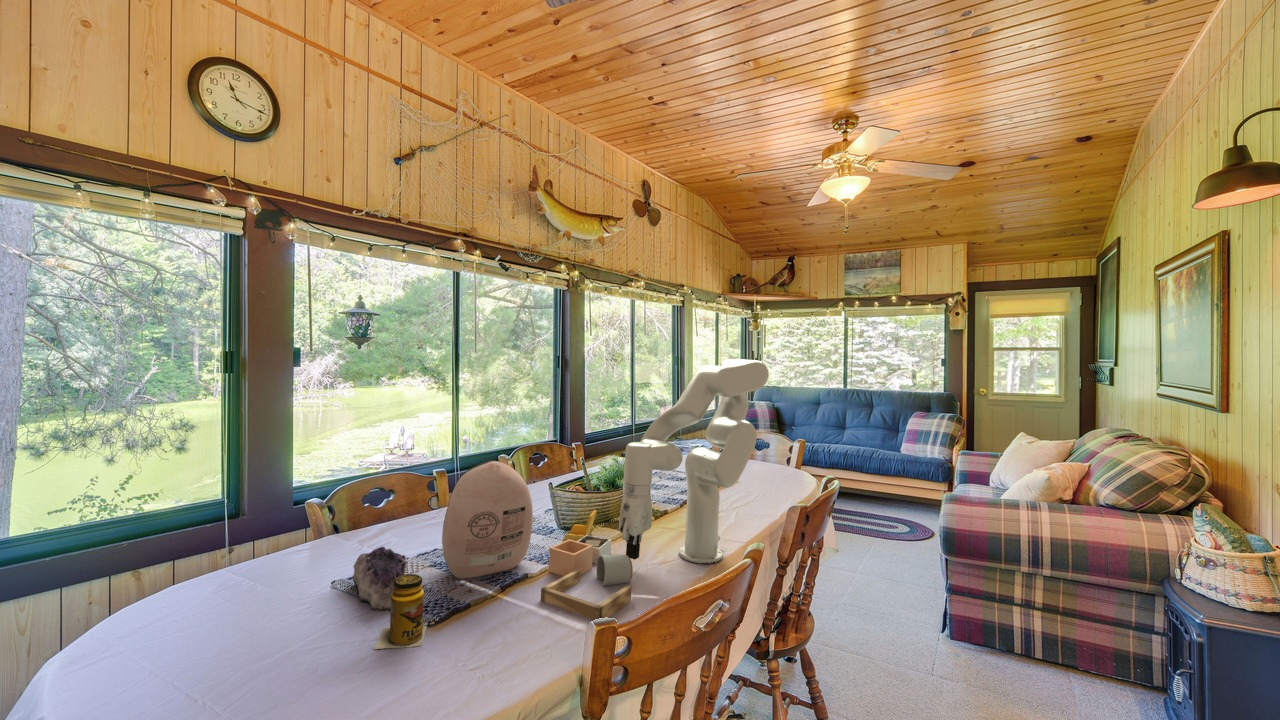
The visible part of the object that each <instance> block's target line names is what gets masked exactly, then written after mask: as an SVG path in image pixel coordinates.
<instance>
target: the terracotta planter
mask: <svg viewBox="0 0 1280 720" xmlns="http://www.w3.org/2000/svg"><path fill="white" fill-rule="evenodd" d="M592 554H593V546H592V545H588V544H585V543H581V542H577V541H574V540H570V539H568V540H566V541H564V542H562V541H561V542H560V543H557V544H555V545H553V546H551V547H549V556H548V557H549V559H548V560H549V561H548V573H551V574H555V575H557V576H561V577H564V576H565V575H567V574H569V573H571V572H573V571H575V570H579V571H580V577H581V576H583V575H584V574H586V573H588V572H589V571H591V570H593V563H592Z"/></svg>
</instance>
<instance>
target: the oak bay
mask: <svg viewBox="0 0 1280 720" xmlns="http://www.w3.org/2000/svg"><path fill="white" fill-rule="evenodd" d="M580 577H581V576H580V571H579V570H575V571H573V572H571V573H569V574H567V575H565V576H561V577H560V578H558V579H556V580H554V581H553V582H551V583H549V584H547V585H545V586H543V587H542V588H541V589H540V601H542V602H544V603H546V604H549V605H552V606H554V607H558V608H561V609H563V610H567V611H569V612H572V613H575V614H577V615H580V616H583V617H586V618H588V619H592V620H595V619H599V618H605V617H609V618H610V617H612V616H613V615H614V614H615V613H617V612H618V611H620V610H622V608H624V607H626V605H628V604H629V603H631V602H632V587H633V586H631V585H629V584H628V585H625V586H624V587H622V588H621V589H620V590H618V591H616V592H615V593H613V595H611V596H609V597H608V598H606V599H605V600H603V601H602V602H601V603H599V604H596V603H593V602H590V601H587V600H584V599H581V598H578V597H576V596H573V595H570V594H567V593H564V591H567V590H568V589H570V588H571V587H573V586H574V585H576V584H578V583H580V580H581V579H580Z"/></svg>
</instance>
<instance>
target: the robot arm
mask: <svg viewBox="0 0 1280 720" xmlns="http://www.w3.org/2000/svg"><path fill="white" fill-rule="evenodd" d="M769 376H770V375H769V369H768V367H767V365H766V364H765V363H764V362H762V361H760V360H755V359H740V358H739V359H737V358H730V359H725V360H723V361H722V362H721V363H720V365H709V364H708V365H707V364H706V365H703V366H700V367H698V368H697V370H696V371H695V372H694V374H693V376H692V377H691V379H690V380H689V382H688V384H687V385H686V387H685V388H684V390H683V391H682V393H681V395H680V397H679V398H678V400H677V401H676V403H675V404H674V405H673V406H672V407H670V408H669V409H667V410H666V411H665V412H663V413H662V414H661V415H660V416H658V417H657V418H656V419H655V420H654V421H653V422H652V423H651V424H650V425H649V426H648V428H647V430H646V431H645V433H644V434H643V436H642V437H641V439H640V441H634V442H633V441H632V442H629V443H627V444H626V447H625V452H624V453H625V455H624V456H625V458H624V467H623V468H624V469H623V483H622V484H623V485H622V487H623V488H622V499H621V507H620V512H619V522H618V523H619V524H618V530H619V532H620V533H621V540H623V541H625V543H626V548H625V549H626V550H625V555H627V556H629V558H630V559H631V560H638V559H639V558H640V549H641V548H640V547H641V542H642V537H643V534H644V533H645V532H647V531H648V530H650V529H651V528H652V520H653V502H652V501H653V499H652V481H653V471H665V472H670V471H671V472H672V471H675V470H676V469H677V468H679V467H680V466H681V464H682V462H683V457H684V456H683V452H682V450H681V448H680V447H678V446H677V444H674V443H671V442H667V440H668V439H669V438H670V437H671V436H672V435H673V434H674V433H676V432H677V431H678V430H681V429H684V428H686V427H691V426H693V425H696V424H697V423H700V421H702V420H703V418H704V416H705V414H706V412H707V411H708V409H709V408H710V406H711V404H712V402H713V401H714V399H715V397H716V396H719V397H721V399H720V402H719V403H718V404H719V405H718V406H717V408H716V410H715V412H714V414H713V416H712V418H711V420H710V422H709V423H708V426H707V428H706V430H705V439H706V440H705V441H707V443H708V444H709V445H711V446H712V447H715V448H717V449H721V450H722V451H719V450H717V449H714V448H709V447H704V446H703V447H701V446H699V447H695V448H692V449H691V450H690V451H689V452H688V453H687V455H686V458H685V460H684V472H685V478H686V490H687V491H686V511H685V535H684V545H683V546H681V547H680V548H679V552H678V553H679V557H681V558H682V559H684V560H685V561H688V562H690V563H695V564H702V563H709V564H714V563H713V562H715V563H718V562H720V561H721V560H723V554H724V553H723V552H722V551H721V549H719V548H718V545H719V544H718V543H719V541H720V540H721V537H720V535H719V525H720V524H719V522H720V521H719V520H720V502H721V501H720V499H721V496H720V491H719V490H720V489H719V488H724V489H729V488H731V487H733V486H734V485H736V483H737V482H738V481H739V480H740V478H741V476H742V475H743V472H744V471H745V468H746V466H747V464H748V462H749V460H750V458H751V456H752V454H753V452H754V449H755V447H756V444H757V438H758V437H757V436H758V435H757V430H756V428H755V426H754V424H752V423H751V422H749V421H747V420H745V418H746V417H747V416H746V415H747V413H748V411H749V404H750V403H749V399H748V395H747V393H750V392H754V391H757V390H760V389H762V388H763V387H764V386H765V385H766V384H767V382H768V380H769ZM720 559H721V560H720ZM719 560H720V561H719ZM717 561H718V562H717ZM711 562H712V563H711Z"/></svg>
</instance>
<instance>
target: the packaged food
mask: <svg viewBox="0 0 1280 720" xmlns="http://www.w3.org/2000/svg"><path fill="white" fill-rule="evenodd" d="M533 511H534V509H533V501H532V496H531V492H530V490H529V487H528V484H527V482H526V481H525V480H524V478H523V476H522V475H520V473H519V472H518V471H516V470H515V469H514V468H513V467H512V466H510V465H508V464H506V463H505V462H501V461H498V460H488V461H487V460H486V461H483V462H481V463H478V464H477V465H474V466H472V467H470V468H469V469H467V470H466V471H464V472H463V474H461V475H460V477H459V478H458V479H457V481H456V483H455V485H454V488H453V490H452V492H451V494H450V497H449V500H448V504H447V508H446V512H445V515H444V520H443V526H442V534H441V545H442V553H443V554H442V555H443V559H444V562H445V564H446V566H447V568H448V570H449V571H450V573H451V574H452V575H453V576H454V577H456V578H458V579H460V580H462V579H463V580H464V579H465V580H466V579H471V578H476V577H484V576H489V575H493V574H498V573H502V572H505V571H506V572H507V571H509V570H512V569H514V568H516V567H517V566H518V565H519V564H520V563H522V561H523V560H524V559H525V556H527V552H528V551H529V547H530V543H531V537H532V532H533V531H532V530H533V515H534V514H533Z"/></svg>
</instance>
